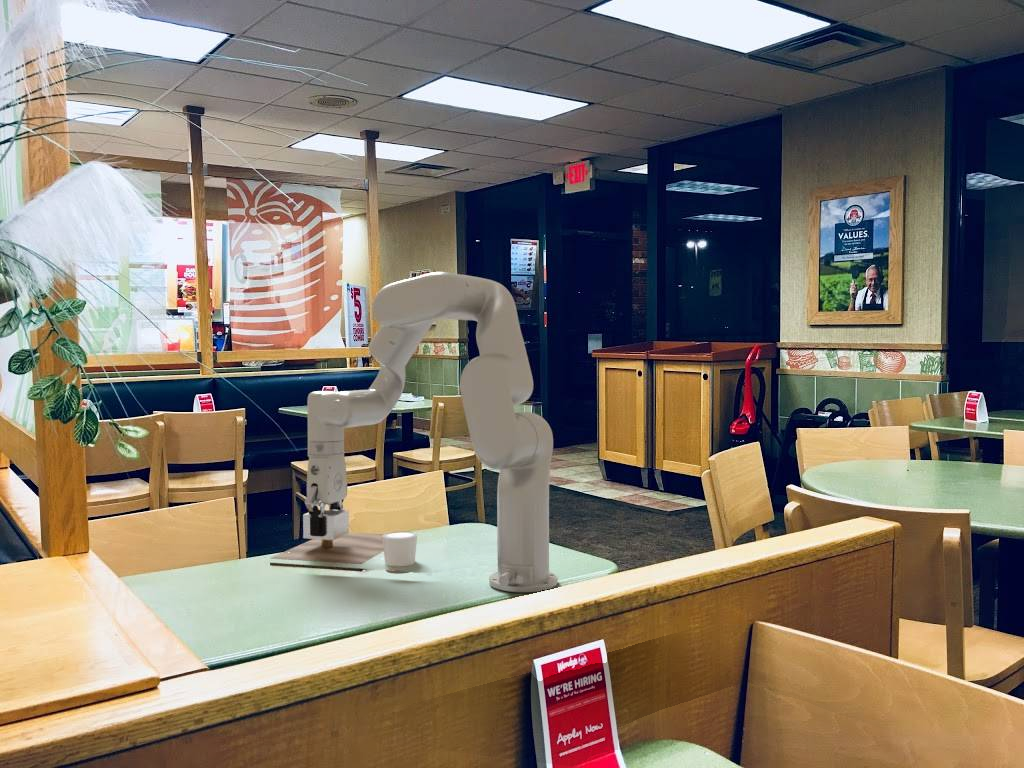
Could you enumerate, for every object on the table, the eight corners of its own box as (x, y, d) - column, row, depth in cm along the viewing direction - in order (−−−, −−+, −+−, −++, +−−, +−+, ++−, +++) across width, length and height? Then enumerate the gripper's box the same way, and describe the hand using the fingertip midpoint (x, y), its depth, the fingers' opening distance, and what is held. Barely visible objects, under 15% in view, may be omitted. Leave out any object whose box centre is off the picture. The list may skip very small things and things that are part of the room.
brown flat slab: (360, 571, 155) (360, 563, 155) (269, 565, 160) (269, 558, 160) (410, 542, 180) (410, 535, 180) (330, 537, 185) (330, 531, 185)
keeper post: (329, 549, 167) (329, 528, 167) (319, 548, 168) (319, 527, 168) (334, 546, 170) (334, 525, 170) (324, 546, 170) (324, 525, 170)
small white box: (333, 540, 165) (333, 516, 164) (303, 538, 166) (303, 514, 166) (348, 533, 171) (348, 510, 171) (319, 531, 173) (319, 508, 173)
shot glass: (421, 565, 159) (420, 531, 159) (413, 574, 152) (413, 538, 152) (387, 565, 160) (387, 530, 160) (378, 574, 153) (378, 538, 153)
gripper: (322, 454, 159) (322, 542, 159) (359, 445, 176) (360, 524, 176) (288, 453, 161) (289, 540, 161) (329, 444, 178) (329, 523, 178)
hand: (326, 531), depth 169 cm, fingers closed on small white box, 7 cm apart
